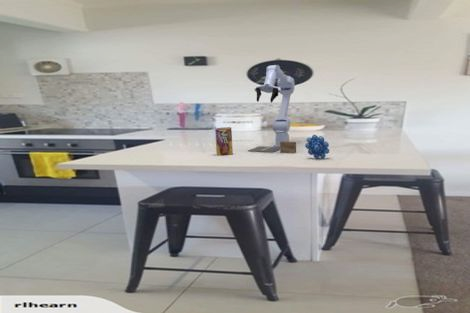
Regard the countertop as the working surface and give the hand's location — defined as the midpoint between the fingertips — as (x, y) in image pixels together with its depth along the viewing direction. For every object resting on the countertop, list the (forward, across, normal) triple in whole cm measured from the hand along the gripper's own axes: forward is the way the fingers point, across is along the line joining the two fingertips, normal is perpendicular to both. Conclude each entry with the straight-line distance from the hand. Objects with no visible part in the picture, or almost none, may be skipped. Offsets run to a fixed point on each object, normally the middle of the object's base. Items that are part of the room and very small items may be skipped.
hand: (264, 100), depth 179 cm
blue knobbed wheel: (+26, +32, +11) cm, 42 cm away
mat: (+12, -1, +30) cm, 32 cm away
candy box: (+26, -20, +18) cm, 37 cm away
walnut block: (+16, +14, +24) cm, 32 cm away
